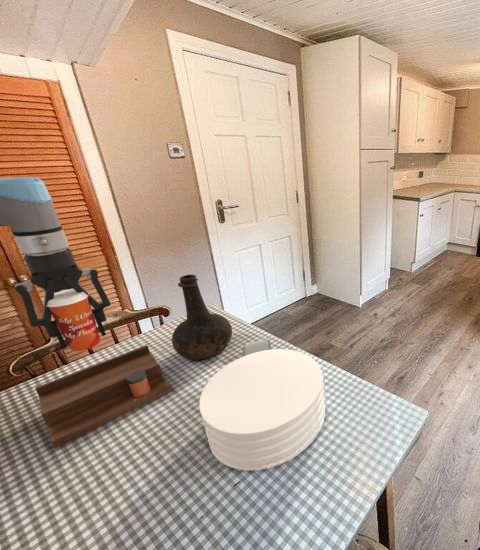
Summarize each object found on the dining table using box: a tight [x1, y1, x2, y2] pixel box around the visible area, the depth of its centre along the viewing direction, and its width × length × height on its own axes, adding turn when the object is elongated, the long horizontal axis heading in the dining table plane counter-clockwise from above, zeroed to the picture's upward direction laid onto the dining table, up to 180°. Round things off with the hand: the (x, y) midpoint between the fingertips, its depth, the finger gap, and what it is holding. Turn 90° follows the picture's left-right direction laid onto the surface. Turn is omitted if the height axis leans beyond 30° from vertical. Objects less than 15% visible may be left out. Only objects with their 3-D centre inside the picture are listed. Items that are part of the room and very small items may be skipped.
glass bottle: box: [171, 274, 233, 361], centre depth 99 cm, size 18×18×28 cm
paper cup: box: [46, 289, 101, 352], centre depth 73 cm, size 8×8×14 cm
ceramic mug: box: [242, 338, 272, 357], centre depth 95 cm, size 11×8×8 cm
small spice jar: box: [126, 371, 151, 397], centre depth 81 cm, size 4×4×5 cm
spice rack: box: [34, 344, 173, 449], centre depth 81 cm, size 16×24×9 cm, turn 138°
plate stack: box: [198, 348, 326, 472], centre depth 75 cm, size 28×28×12 cm
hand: (84, 339), depth 75 cm, fingers closed on paper cup, 7 cm apart
